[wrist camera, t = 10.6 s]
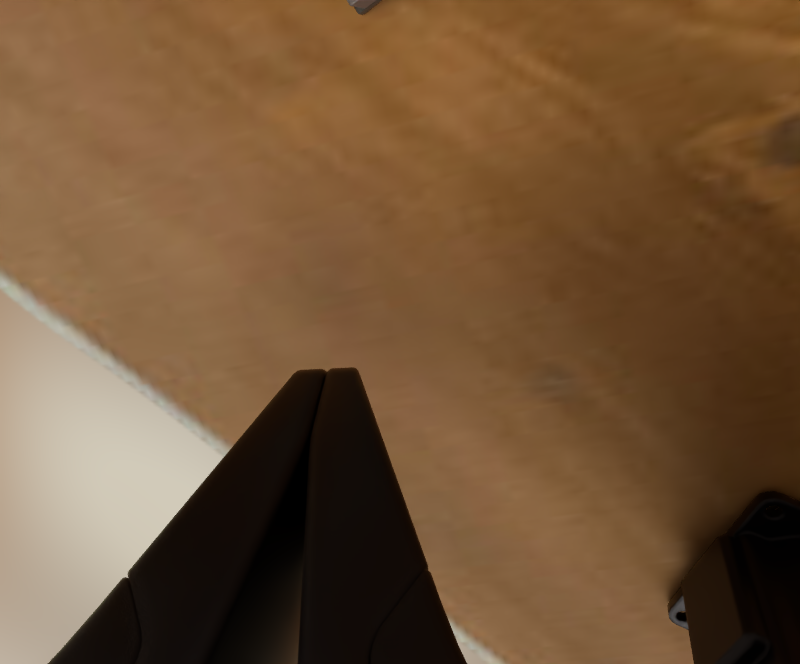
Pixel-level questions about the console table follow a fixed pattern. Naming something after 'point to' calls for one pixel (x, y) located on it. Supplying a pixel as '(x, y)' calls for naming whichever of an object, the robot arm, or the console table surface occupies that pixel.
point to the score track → (363, 5)
